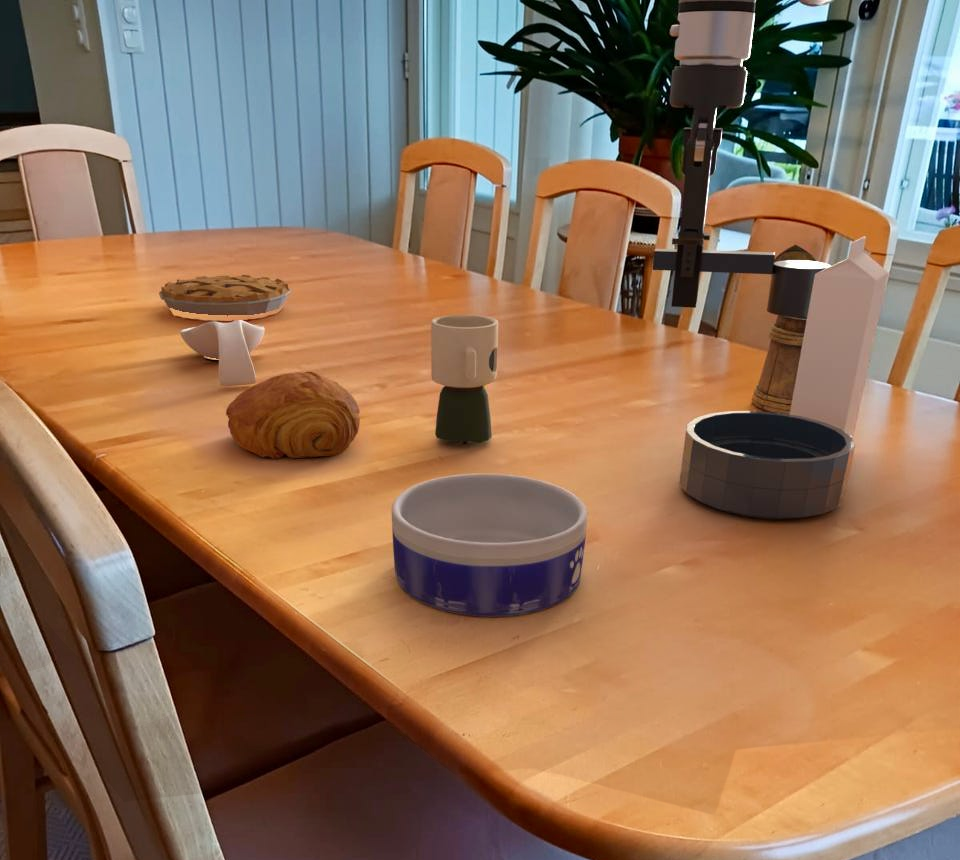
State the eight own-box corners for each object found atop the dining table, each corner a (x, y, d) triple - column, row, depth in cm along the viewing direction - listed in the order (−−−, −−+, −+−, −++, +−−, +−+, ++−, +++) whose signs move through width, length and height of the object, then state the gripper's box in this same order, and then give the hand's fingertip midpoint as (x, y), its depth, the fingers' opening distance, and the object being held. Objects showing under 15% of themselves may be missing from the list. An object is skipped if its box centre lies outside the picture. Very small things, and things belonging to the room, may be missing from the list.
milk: (850, 451, 108) (898, 238, 97) (836, 466, 103) (885, 245, 93) (796, 441, 111) (836, 233, 100) (780, 455, 106) (821, 239, 95)
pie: (310, 303, 175) (308, 273, 173) (259, 327, 157) (256, 295, 154) (199, 295, 179) (196, 267, 177) (137, 319, 161) (132, 287, 158)
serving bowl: (833, 474, 101) (845, 417, 98) (849, 531, 88) (863, 468, 85) (682, 460, 104) (689, 405, 101) (675, 514, 91) (683, 452, 88)
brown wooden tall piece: (805, 387, 131) (831, 245, 122) (834, 417, 119) (865, 261, 110) (738, 386, 131) (760, 243, 122) (761, 415, 119) (786, 259, 110)
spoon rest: (180, 349, 143) (173, 298, 140) (260, 344, 147) (256, 295, 143) (194, 391, 124) (187, 333, 120) (286, 385, 127) (282, 328, 124)
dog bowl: (441, 525, 87) (441, 461, 84) (605, 555, 82) (611, 488, 79) (359, 595, 75) (355, 523, 72) (546, 636, 70) (550, 560, 67)
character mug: (503, 455, 104) (507, 331, 98) (437, 457, 103) (437, 332, 97) (486, 425, 114) (489, 310, 107) (426, 426, 113) (425, 310, 106)
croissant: (353, 435, 116) (351, 366, 113) (367, 460, 102) (365, 381, 99) (229, 438, 113) (224, 367, 110) (226, 463, 99) (219, 383, 96)
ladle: (820, 308, 110) (829, 251, 107) (824, 318, 105) (834, 259, 102) (651, 300, 114) (656, 246, 111) (647, 310, 109) (652, 253, 106)
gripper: (676, 65, 106) (655, 291, 118) (668, 61, 93) (645, 315, 105) (747, 65, 105) (718, 294, 116) (749, 61, 92) (716, 319, 103)
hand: (684, 303), depth 110 cm, fingers closed on ladle, 2 cm apart
